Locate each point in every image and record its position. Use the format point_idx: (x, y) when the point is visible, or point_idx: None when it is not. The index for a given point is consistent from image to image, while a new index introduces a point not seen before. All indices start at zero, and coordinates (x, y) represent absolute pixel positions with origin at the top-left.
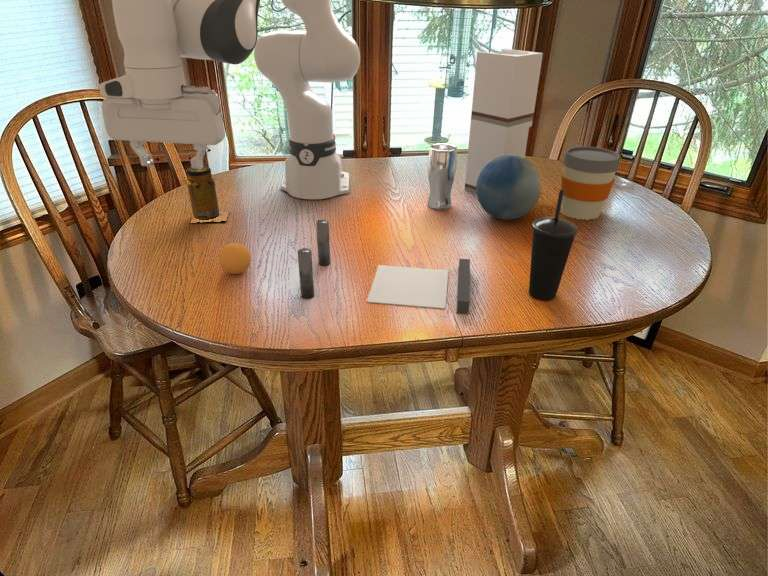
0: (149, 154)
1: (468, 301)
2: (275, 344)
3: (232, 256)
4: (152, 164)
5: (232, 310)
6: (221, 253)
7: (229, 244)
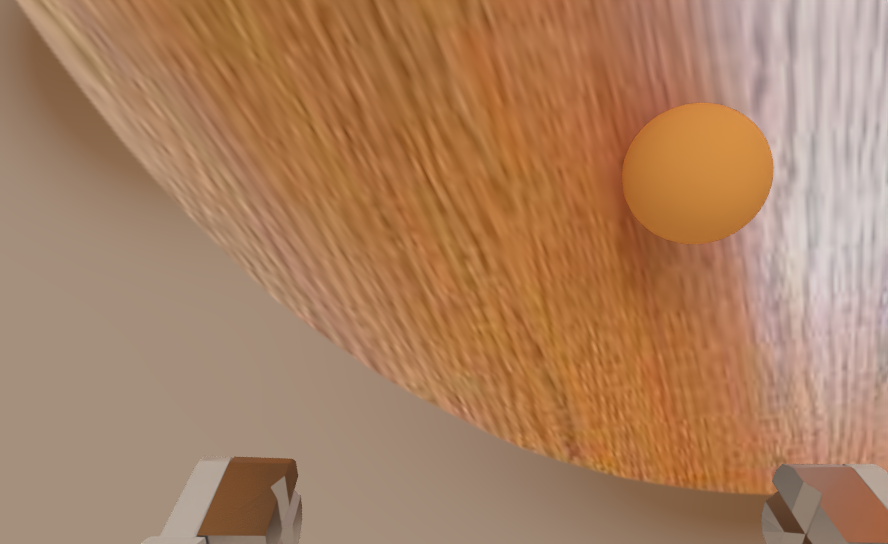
0: (233, 539)
1: None
2: None
3: (713, 241)
4: (296, 472)
5: (703, 379)
6: (659, 224)
7: (704, 197)
